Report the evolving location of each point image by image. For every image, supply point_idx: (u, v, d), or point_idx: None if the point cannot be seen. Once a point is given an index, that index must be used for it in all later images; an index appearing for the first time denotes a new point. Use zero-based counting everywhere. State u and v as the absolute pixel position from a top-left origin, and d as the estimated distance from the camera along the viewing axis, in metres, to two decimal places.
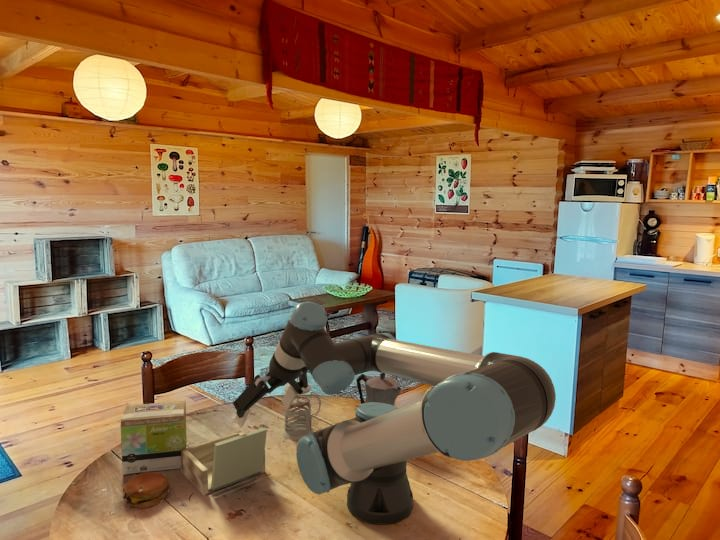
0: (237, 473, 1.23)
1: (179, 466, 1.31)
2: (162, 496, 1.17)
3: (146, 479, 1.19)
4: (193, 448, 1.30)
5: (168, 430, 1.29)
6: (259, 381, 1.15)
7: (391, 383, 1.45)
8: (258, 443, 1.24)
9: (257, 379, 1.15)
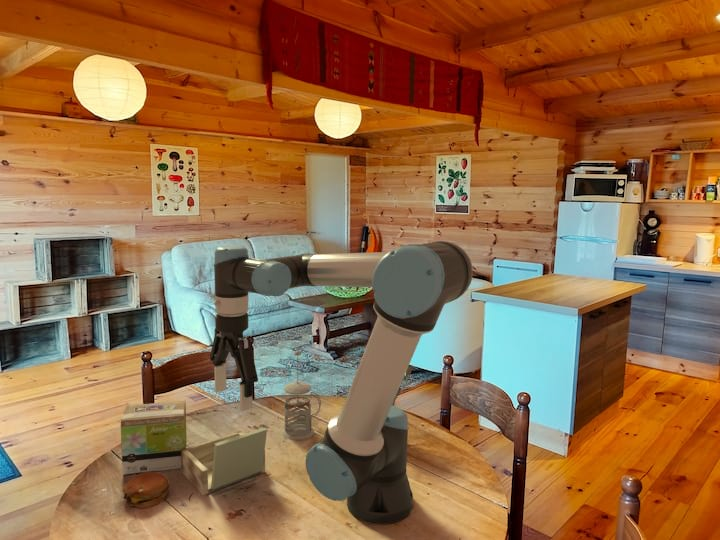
0: (237, 473, 1.23)
1: (179, 466, 1.31)
2: (162, 496, 1.17)
3: (146, 479, 1.19)
4: (193, 448, 1.30)
5: (168, 430, 1.29)
6: (247, 340, 1.16)
7: None
8: (258, 443, 1.24)
9: (244, 341, 1.15)
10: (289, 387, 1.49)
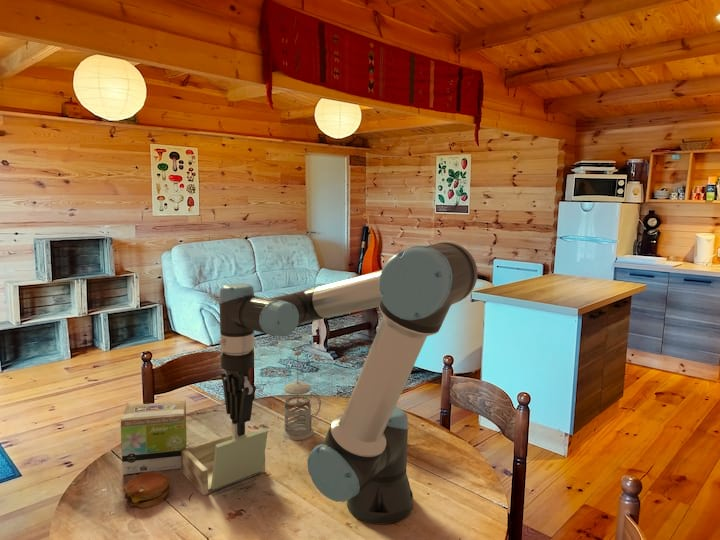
0: (237, 473, 1.23)
1: (179, 466, 1.31)
2: (163, 496, 1.17)
3: (146, 479, 1.19)
4: (193, 448, 1.30)
5: (168, 430, 1.29)
6: (252, 389, 1.15)
7: None
8: (258, 444, 1.24)
9: (249, 390, 1.15)
10: (289, 387, 1.49)
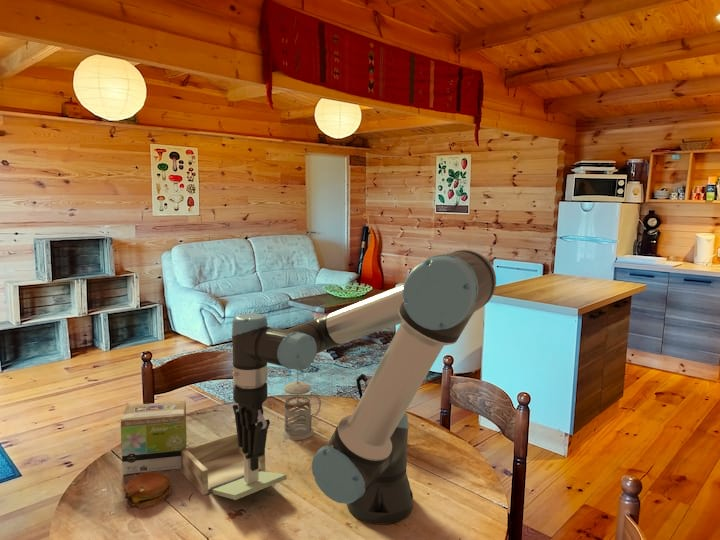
0: None
1: (179, 466, 1.31)
2: (163, 496, 1.17)
3: (147, 479, 1.19)
4: (193, 448, 1.30)
5: (168, 430, 1.29)
6: (266, 423, 1.12)
7: None
8: None
9: (263, 425, 1.11)
10: (289, 387, 1.49)
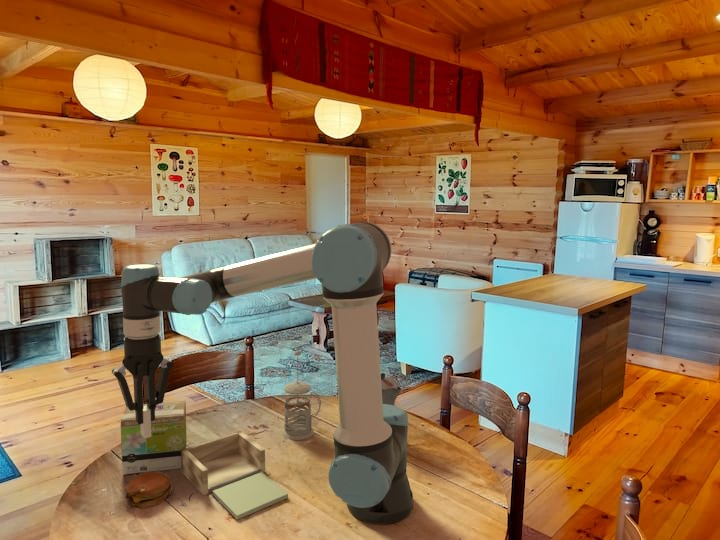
0: None
1: (179, 466, 1.31)
2: (164, 496, 1.17)
3: (148, 479, 1.19)
4: (193, 448, 1.30)
5: (168, 430, 1.29)
6: None
7: (391, 383, 1.45)
8: None
9: None
10: (289, 387, 1.49)
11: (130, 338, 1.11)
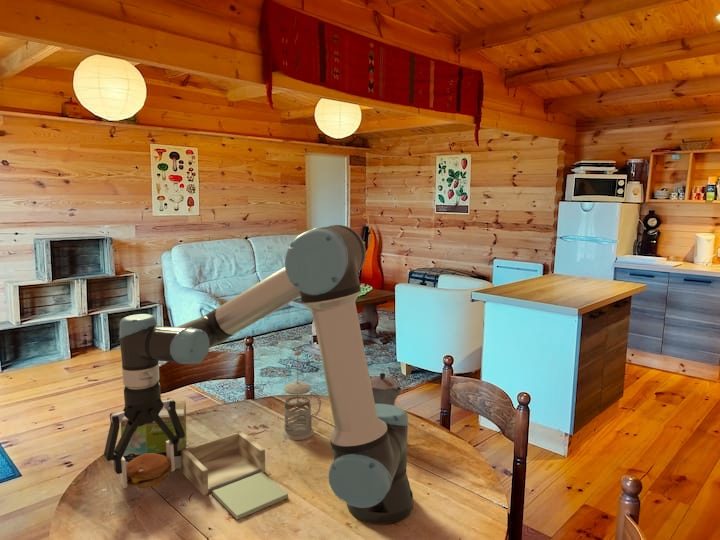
0: None
1: (179, 466, 1.31)
2: (163, 476, 1.16)
3: (146, 459, 1.17)
4: (193, 448, 1.30)
5: None
6: None
7: (391, 383, 1.45)
8: None
9: (173, 401, 1.20)
10: (289, 387, 1.49)
11: (130, 388, 1.12)
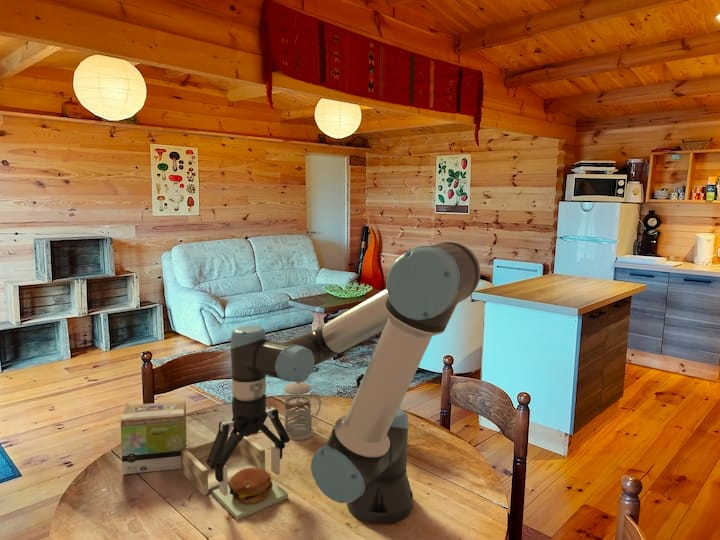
0: None
1: (179, 466, 1.31)
2: (267, 492, 1.17)
3: (250, 475, 1.19)
4: (193, 448, 1.30)
5: (168, 430, 1.29)
6: (273, 407, 1.21)
7: None
8: None
9: (275, 409, 1.21)
10: (289, 387, 1.49)
11: (240, 399, 1.13)
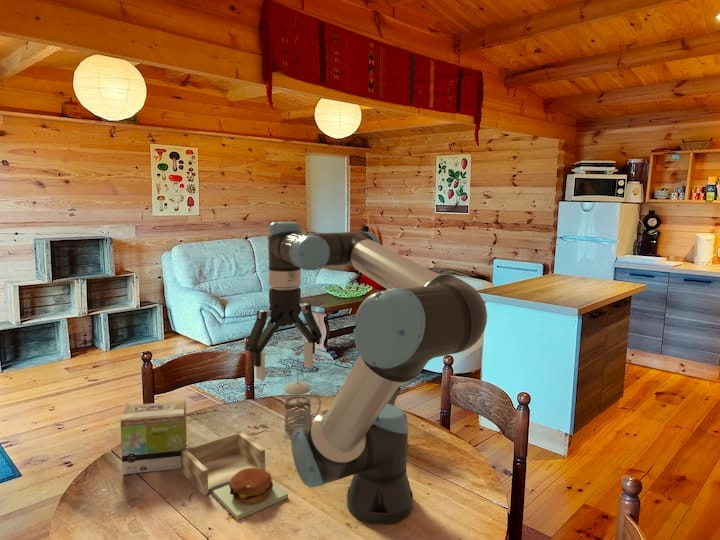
0: None
1: (179, 466, 1.31)
2: (268, 492, 1.17)
3: (250, 475, 1.19)
4: (193, 448, 1.30)
5: (168, 430, 1.29)
6: None
7: None
8: None
9: None
10: (289, 387, 1.49)
11: (277, 289, 1.20)
